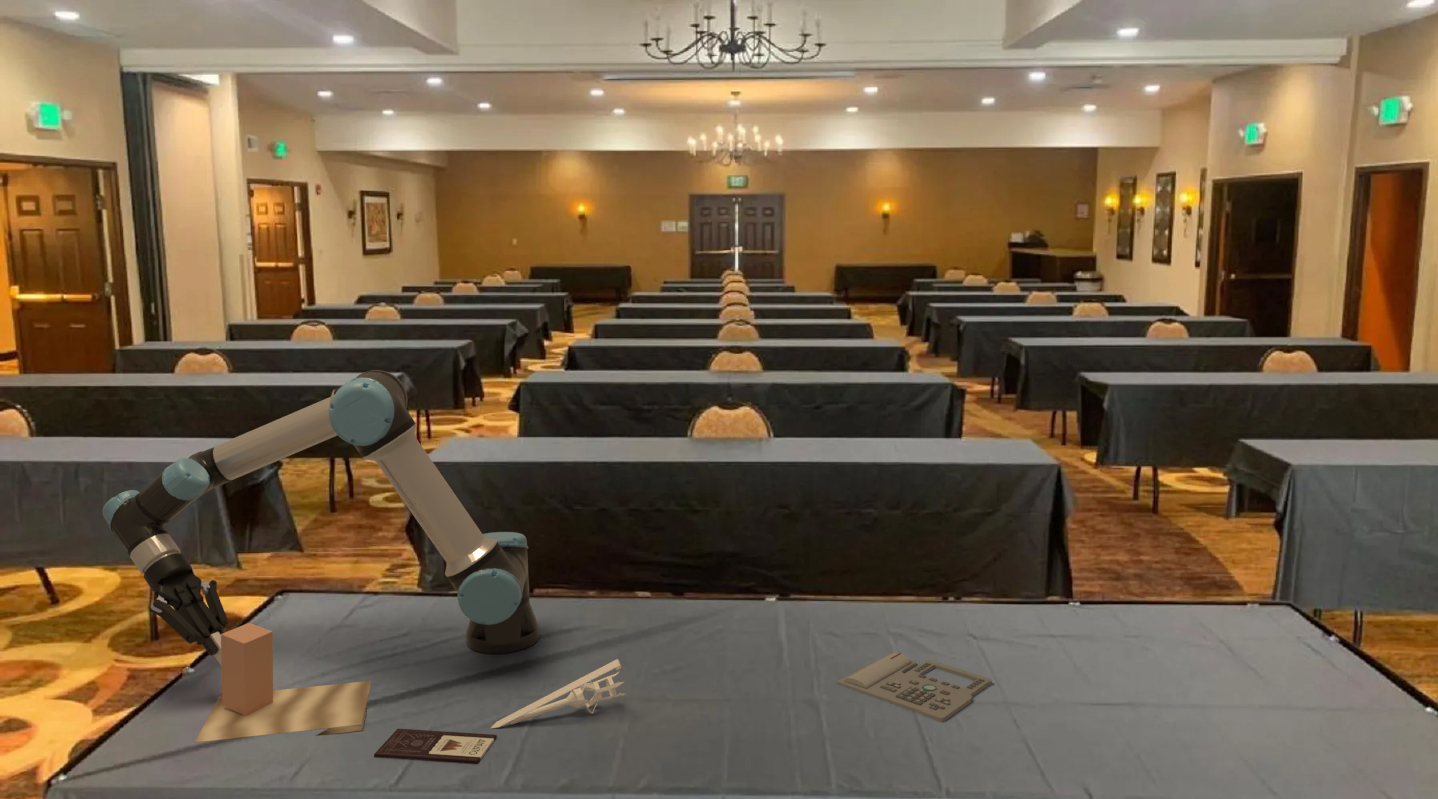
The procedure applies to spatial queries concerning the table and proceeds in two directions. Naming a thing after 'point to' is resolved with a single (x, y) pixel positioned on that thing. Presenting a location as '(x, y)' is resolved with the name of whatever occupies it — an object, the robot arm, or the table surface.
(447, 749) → the chocolate bar
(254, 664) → the terracotta block
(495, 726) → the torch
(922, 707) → the office telephone
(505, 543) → the robot arm
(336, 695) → the birch board
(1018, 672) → the table surface
